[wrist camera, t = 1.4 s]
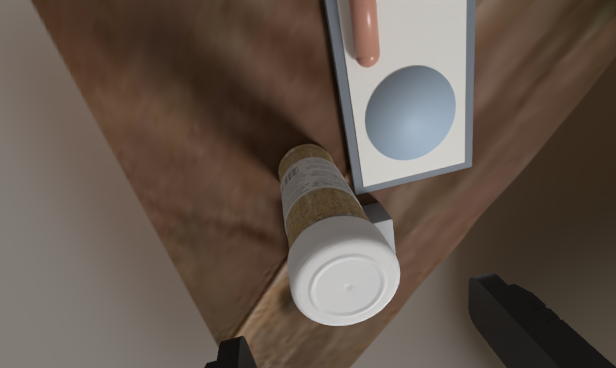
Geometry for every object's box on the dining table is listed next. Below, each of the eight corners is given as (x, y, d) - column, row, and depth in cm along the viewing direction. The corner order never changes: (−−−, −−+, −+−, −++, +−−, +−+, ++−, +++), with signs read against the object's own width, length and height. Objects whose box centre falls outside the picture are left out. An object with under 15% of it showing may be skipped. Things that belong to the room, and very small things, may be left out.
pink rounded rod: (338, -70, 17) (345, -79, 16) (365, -76, 17) (374, -85, 16) (353, 68, 21) (360, 71, 20) (376, 63, 21) (384, 66, 20)
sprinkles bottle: (306, 205, 26) (345, 346, 13) (265, 171, 24) (265, 297, 12) (346, 166, 25) (425, 280, 12) (305, 129, 23) (352, 217, 11)
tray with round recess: (315, -53, 19) (318, -59, 18) (471, -87, 19) (483, -94, 18) (354, 192, 26) (357, 197, 25) (467, 164, 26) (475, 168, 25)
